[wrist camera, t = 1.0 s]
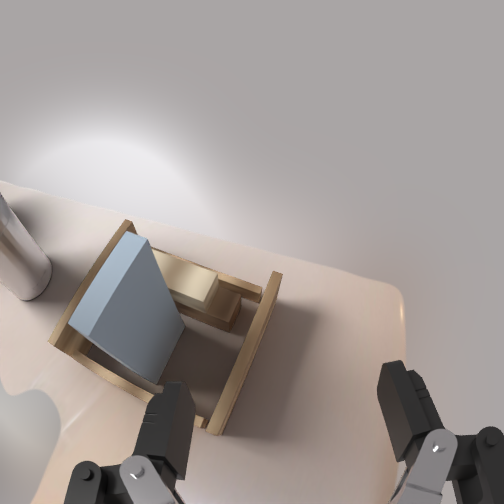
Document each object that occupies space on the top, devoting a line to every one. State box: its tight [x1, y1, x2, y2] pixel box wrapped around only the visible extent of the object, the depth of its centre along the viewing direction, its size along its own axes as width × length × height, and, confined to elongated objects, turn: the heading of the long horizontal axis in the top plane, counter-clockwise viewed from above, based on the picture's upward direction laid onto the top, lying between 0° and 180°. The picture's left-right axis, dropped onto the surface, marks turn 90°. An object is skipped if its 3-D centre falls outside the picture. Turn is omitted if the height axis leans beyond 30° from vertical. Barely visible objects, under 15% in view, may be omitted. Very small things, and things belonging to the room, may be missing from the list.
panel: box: [68, 231, 185, 385], centre depth 30 cm, size 2×9×20 cm, turn 159°
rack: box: [48, 219, 283, 436], centre depth 36 cm, size 22×20×8 cm
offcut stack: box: [152, 249, 241, 333], centre depth 39 cm, size 14×4×8 cm, turn 69°
